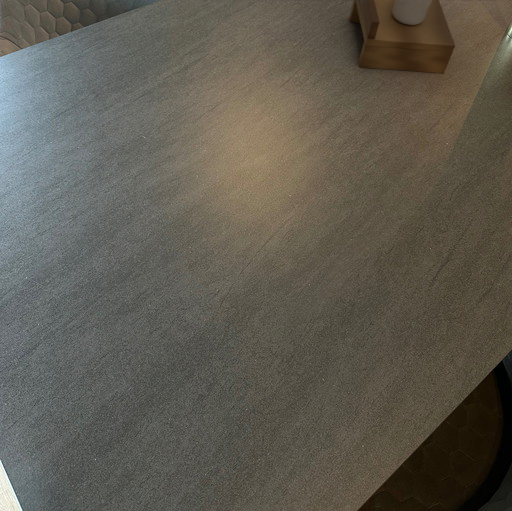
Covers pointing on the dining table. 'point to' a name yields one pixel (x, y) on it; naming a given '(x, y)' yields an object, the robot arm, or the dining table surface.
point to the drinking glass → (410, 11)
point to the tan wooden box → (402, 38)
